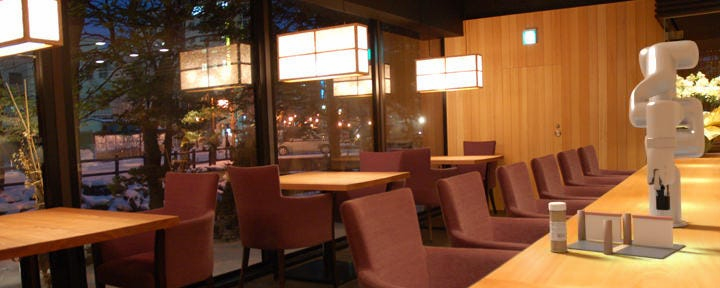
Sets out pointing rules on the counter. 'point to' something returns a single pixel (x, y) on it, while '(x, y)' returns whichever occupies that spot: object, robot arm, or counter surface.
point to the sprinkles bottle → (558, 227)
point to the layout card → (627, 248)
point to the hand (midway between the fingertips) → (663, 209)
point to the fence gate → (653, 230)
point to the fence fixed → (604, 228)
